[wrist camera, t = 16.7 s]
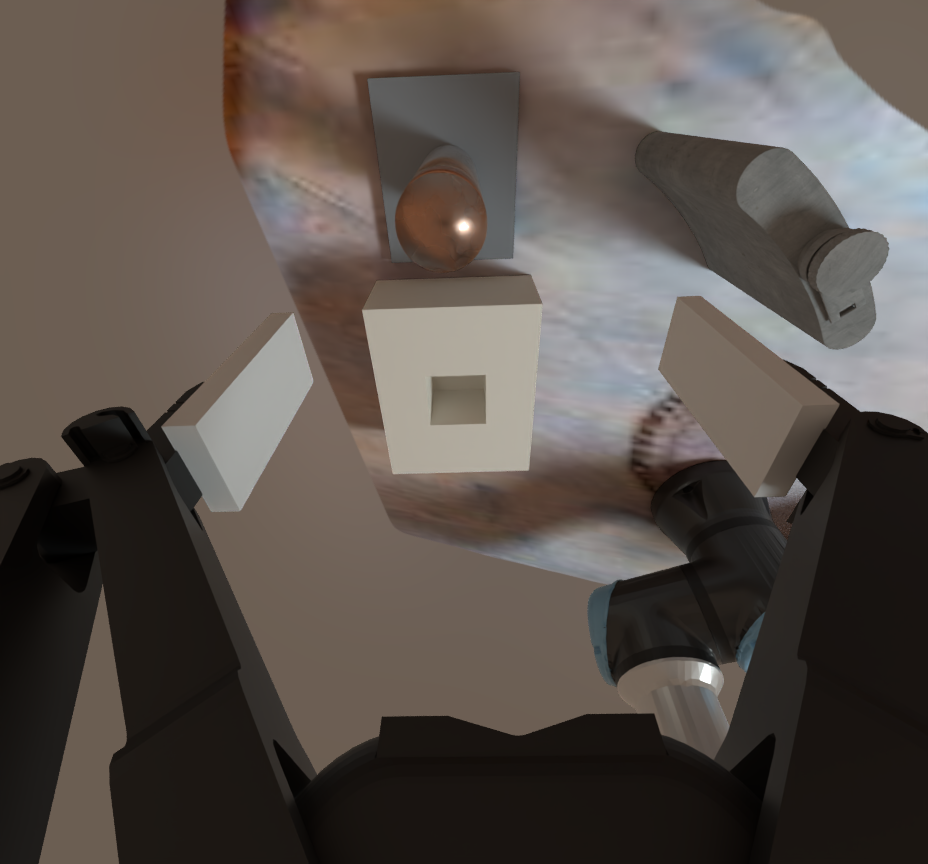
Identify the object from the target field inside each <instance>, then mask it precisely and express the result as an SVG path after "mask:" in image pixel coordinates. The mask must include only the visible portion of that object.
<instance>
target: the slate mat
mask: <svg viewBox="0 0 928 864" xmlns="http://www.w3.org/2000/svg"><path fill="white" fill-rule="evenodd" d="M367 80H368V88H369V95H370V103H371V110H372V118H373V125H374V133H375V140H376V148H377V155H378V163H379V170H380V178H381V185H382V193H383V200H384V208H385V215H386V223H387V230H388V238H389V245H390V252H391V260H392V263H398V262H413V261H412V260H411V259H410V258H409V257H408V256H407V254H406V253H405V252H404V250H403V248H402V247H401V245H400V242H399V240H398V237H397V234H396V229H395V213H396V207H397V204H398V201H399V199H400V197H401V195H402V193H403V192H404V190H405V188H406V187H407V185H408V184H409V182H410V181H411V180H412V178H413V177H414V175H415V174H416V172H417V171H418V169H419V167H420V166H421V164H422V163H423V161H424V160H425V158H426V157H427V155H428V154H429V153H430V152H431V151H432V150H434V149H435V148H437V147H439V146H442V145H454V146H457V147H459V148H461V149H463V150H464V151H465V152H466V153H467V154H468V155H469V156H470V157H471V159H472V161H473V163H474V165H475V168H476V172H477V177H478V181H479V185H480V189H481V194H482V198H483V201H484V205H485V209H486V214H487V233H486V238H485V241H484V244H483V246H482V248H481V250H480V252H479V253H478V255H477V256H476V257H475V258H474V259H473V260H482V259H510V258H513V250H514V222H515V195H516V167H517V139H518V111H519V83H520V72H505V73H482V74H459V75H437V76H414V77H392V78H369V79H367Z"/></svg>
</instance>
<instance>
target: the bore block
mask: <svg viewBox="0 0 928 864" xmlns="http://www.w3.org/2000/svg"><path fill="white" fill-rule="evenodd" d="M542 305H543V304H542V301H541V299H540V296H539V294H538V291H537V289H536V286H535V284H534V281H533V279H532V276H531V275H520V276H491V277H463V278H434V279H406V280H377V281H376V283H375V285H374V287H373V289H372V291H371V293H370V295H369V297H368V299H367V301H366V303H365V305H364V307H363V309H362V312H363V318H364V323H365V328H366V334H367V339H368V344H369V350H370V355H371V360H372V366H373V371H374V376H375V382H376V387H377V392H378V397H379V403H380V408H381V413H382V419H383V424H384V429H385V435H386V440H387V445H388V451H389V456H390V461H391V467H392V472H393V474H416V473H454V472H492V471H529V463H530V451H531V439H532V427H533V414H534V402H535V390H536V378H537V366H538V353H539V341H540V329H541V317H542Z"/></svg>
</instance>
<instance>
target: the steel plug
mask: <svg viewBox="0 0 928 864" xmlns="http://www.w3.org/2000/svg"><path fill="white" fill-rule="evenodd" d="M395 229H396V234H397V237H398V240H399V242H400V245H401V247H402V248H403V250H404V252H405V253H406V254H407V256H408V257H409V258H410V259H411V260H412V261H413V262H415V263H416V264H417V265H419V266H421V267H422V268H424V269H427V270H430V271H433V272H441V273H445V272H452V271H456V270H458V269H461V268H463V267H464V266H466V265H467V264H469V263H470V262H471V261H472V260H473V259H474V258H475V257H476V256H477V255H478V253H479V252H480V250H481V248H482V246H483V244H484V241H485V238H486V233H487V214H486V209H485V205H484V201H483V198H482V194H481V189H480V185H479V181H478V177H477V172H476V168H475V165H474V163H473V161H472V159H471V157H470V156H469V155H468V154H467V153H466V152H465V151H464V150H463V149H461V148H459V147H457V146H454V145H442V146H439V147H437V148H435V149H434V150H432V151H431V152H430V153H429V154H428V155H427V157H426V158H425V160H424V161H423V163H422V164H421V166H420V167H419V169H418V171H417V172H416V174H415V175H414V177H413V178H412V180H411V181H410V182H409V184H408V185H407V187H406V188H405V190H404V192H403V193H402V195H401V197H400V199H399V201H398V204H397V207H396V213H395Z"/></svg>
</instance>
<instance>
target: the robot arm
mask: <svg viewBox="0 0 928 864" xmlns="http://www.w3.org/2000/svg"><path fill="white" fill-rule="evenodd" d="M658 370H659V371H660V372H661V374H662V375H663V376H664V378H665V379H666V380H667V382H668V383H669V384H670V386H671V387H672V388H673V390H674V391H675V392H676V394H677V395H678V396H679V398H680V399H681V400H682V402H683V403H684V404H685V406H686V407H687V408H688V410H689V411H690V412H691V414H692V415H693V416H694V418H695V419H696V420H697V422H698V423H699V424H700V426H701V427H702V428H703V430H704V431H705V432H706V433H707V435H708V436H709V437H710V439H711V440H712V441H713V443H714V444H715V445H716V447H717V448H718V449H719V451H720V452H721V453H722V455H723V456H724V457H725V459H726V460H727V461H714V462H707V463H702V464H698V465H695V466H692V467H690V468H687V469H685V470H683V471H681V472H679V473H677V474H676V475H674V476H672V477H671V478H670V479H668V480H667V481H666V482H665V483H664V484H663V485H662V486H661V487H660V488H659V489H658V491H657V492H656V494H655V495H654V497H653V500H652V504H651V511H652V515H653V517H654V519H655V521H656V523H657V525H658V527H659V528H660V530H661V531H662V532H663V533H664V534H665V535H667V536H668V537H669V538H670V539H671V541H672V542H673V543H674V544H675V545H676V546H677V547H678V548H679V549H680V550H681V551H682V552H683V553H684V554H685V555H686V557H687V559H688V561H689V562H690V563H687V564H684V565H680V566H676V567H672V568H669V569H665V570H661V571H657V572H654V573H650V574H646V575H642V576H639V577H635V578H631V579H627V580H624V581H623V580H616V581H615V582H613V583H612V584H609V585H606V586H603V587H599V588H597V589H596V590H594V592H593V593H592V594H591V595H590V598H589V601H588V624H589V631H590V638H591V643H592V645H593V647H594V654H595V658H596V662H597V665H598V668H599V671H600V673H601V675H602V677H603V679H604V680H605V682H606V683H607V684H609V685H612V686H615V687H617V690H618V693H619V696H620V697H621V699H622V700H623V701H625V702H626V703H627V704H629V705H630V706H632V707H633V708H634V709H636V710H637V713H638V714H586V715H583V716H580V717H577V718H574V719H571V720H568V721H565V722H562V723H559V724H556V725H553V726H550V727H547V728H544V729H541V730H538V731H535V732H532V733H529V734H526V735H522V736H515V735H510V734H507V733H503V732H500V731H497V730H493V729H490V728H487V727H483V726H480V725H476V724H473V723H470V722H467V721H463V720H460V719H456V718H453V717H450V716H405V717H404V716H401V717H382V720H381V727H380V734H379V737H376V738H373V739H370V740H368V741H366V742H364V743H362V744H360V745H358V746H356V747H353V748H352V749H350V750H349V751H347V752H346V753H344V754H342V755H341V756H339V757H338V758H336V759H335V760H334V761H333V762H332V763H330V764H329V765H328V766H327V767H325V768H324V769H323V770H322V771H321V772H320V773H319V774H318V775H317V774H316V772H315V770H314V768H313V766H312V764H311V762H310V760H309V758H308V757H307V755H306V753H305V751H304V749H303V748H302V746H301V744H300V742H299V740H298V739H297V736H296V734H295V732H294V730H293V728H292V725H291V723H290V721H289V719H288V716H287V714H286V712H285V710H284V707H283V705H282V703H281V700H280V698H279V696H278V694H277V691H276V689H275V687H274V684H273V682H272V680H271V678H270V675H269V673H268V671H267V669H266V666H265V664H264V662H263V660H262V657H261V655H260V653H259V651H258V648H257V646H256V644H255V641H254V639H253V637H252V635H251V632H250V630H249V628H248V626H247V623H246V621H245V619H244V616H243V614H242V612H241V610H240V607H239V605H238V603H237V601H236V598H235V596H234V594H233V591H232V589H231V587H230V585H229V582H228V580H227V578H226V576H225V573H224V571H223V569H222V567H221V564H220V562H219V560H218V557H217V556H216V553H215V551H214V548H213V546H212V544H211V542H210V539H209V537H208V535H207V533H206V530H205V528H204V526H203V524H202V521H201V519H200V517H199V515H198V513H197V512H196V510H195V509H194V506H195V505H196V503H197V502H198V501H199V499H200V498H201V496H202V497H203V499H204V500H205V502H206V503H207V505H208V507H209V509H210V510H211V512H223V511H224V512H226V511H241V509H242V507H243V505H244V504H245V502H246V500H247V498H248V497H249V495H250V493H251V491H252V490H253V488H254V486H255V484H256V483H257V481H258V479H259V477H260V476H261V474H262V472H263V470H264V468H265V467H266V465H267V463H268V461H269V459H270V458H271V456H272V454H273V453H274V451H275V449H276V447H277V446H278V444H279V442H280V440H281V438H282V437H283V435H284V433H285V431H286V430H287V428H288V426H289V424H290V423H291V421H292V419H293V417H294V416H295V414H296V412H297V410H298V409H299V407H300V405H301V403H302V401H303V400H304V398H305V396H306V394H307V393H308V391H309V389H310V387H311V386H312V384H313V382H314V381H313V377H312V374H311V371H310V368H309V364H308V360H307V357H306V354H305V350H304V347H303V344H302V340H301V337H300V334H299V330H298V327H297V323H296V320H295V316H294V313H272V314H270V315H269V317H267V319H265V321H264V322H263V323H262V324H261V325H260V326H259V327H258V328H257V329H256V330H255V331H254V332H253V333H252V334H251V335H250V336H249V337H248V338H247V339H246V340H245V341H244V342H243V343H242V344H241V345H240V346H239V347H238V349H236V350H235V351H234V353H232V354H231V355H230V356H229V358H228V359H227V360H226V361H225V362H224V363H223V364H222V365H221V366H220V367H219V368H218V369H217V370H216V371H215V372H214V373H213V374H212V375H211V376H210V377H209V378H208V379H207V380H206V381H205V382H202V383H200V384H198V385H196V386H195V387H193V388H191V389H190V390H188V391H186V392H185V393H184V394H183V395H182V396H181V397H180V398H179V399H178V400H177V401H176V404H173V405H172V406H171V407H170V408H169V409H168V410H167V411H168V412H167V413H164V414H163V415H162V416H161V417H160V418H159V419H158V420H157V421H156V422H155V423H154V424H153V425H152V426H151V427H150V428H149V429H148V430H147V431H146V430H145V428H144V427H143V425H142V423H141V422H140V420H139V419H138V417H137V415H136V414H135V412H134V411H133V410H132V409H131V408H127V407H112V408H107V409H103V410H98V411H95V412H93V413H90V414H88V415H86V416H83V417H81V418H79V419H77V420H76V421H74V422H72V423H71V424H70V425H69V426H68V427H66V428H65V429H64V431H63V433H62V438H63V439H64V441H65V442H66V443H67V445H68V446H69V447H70V448H71V450H72V451H73V452H74V454H75V455H76V456H77V457H78V459H79V460H80V461H81V462H82V464H83V465H84V467H82V468H77V469H73V470H68V471H64V472H59V473H56V472H55V471H54V470H53V469H52V468H51V466H50V465H49V464H48V463H47V462H46V461H45V460H43V459H41V458H28V459H23V460H18V461H15V462H12V463H6V464H3V465H1V466H0V864H38V863H39V859H40V855H41V850H42V846H43V842H44V837H45V833H46V828H47V824H48V820H49V815H50V811H51V807H52V802H53V798H54V794H55V789H56V785H57V780H58V776H59V772H60V767H61V763H62V759H63V754H64V750H65V745H66V741H67V737H68V732H69V728H70V723H71V719H72V715H73V711H74V706H75V702H76V698H77V693H78V689H79V684H80V680H81V675H82V671H83V667H84V663H85V658H86V654H87V650H88V645H89V641H90V636H91V632H92V628H93V623H94V619H95V615H96V610H97V606H98V601H99V597H100V593H101V588H102V584H103V587H104V593H105V599H106V605H107V611H108V618H109V624H110V630H111V637H112V643H113V649H114V656H115V662H116V668H117V675H118V681H119V687H120V694H121V700H122V706H123V712H124V719H125V725H126V731H127V742H126V745H125V747H123V748H122V749H120V750H119V751H117V752H116V753H115V754H113V757H112V760H111V763H110V766H109V772H110V791H111V799H112V808H113V816H114V825H115V832H116V841H117V850H118V857H119V864H928V433H927V432H926V431H924V430H923V429H922V428H921V427H920V426H918V425H916V424H914V423H912V422H910V421H908V420H906V419H903V418H900V417H897V416H894V415H891V414H885V413H880V412H866V411H864V412H860V411H859V410H857V409H856V408H855V407H853V406H852V405H851V404H849V403H848V402H847V401H845V400H844V399H843V398H841V397H840V396H839V395H837V394H836V393H835V392H834V391H832V390H831V389H827V386H826V385H824V384H823V383H822V382H820V381H819V380H816V378H815V377H814V376H812V375H811V374H810V373H808V372H807V371H806V370H804V369H803V368H801V367H799V366H797V365H794V364H792V363H790V362H788V361H785V360H782V359H781V358H780V357H778V356H777V355H776V354H774V353H773V352H772V351H771V350H769V349H768V348H767V347H765V346H764V345H763V344H762V343H760V342H759V341H758V340H756V339H755V338H754V337H753V336H751V335H750V334H749V333H747V332H746V331H745V330H744V329H742V328H741V327H740V326H738V325H737V324H736V323H735V322H733V321H732V320H731V319H729V318H728V317H727V316H726V315H724V314H723V313H722V312H721V311H719V310H718V309H717V308H715V307H714V306H713V305H712V304H710V303H709V302H708V301H706V300H705V299H704V298H703V297H701V296H687V297H677V300H676V304H675V308H674V312H673V316H672V319H671V323H670V327H669V331H668V335H667V338H666V342H665V346H664V350H663V353H662V357H661V361H660V365H659V369H658ZM796 478H797V479H798V480H799V481H800V482H801V483H802V484H803V485H804V486H805V487H806V489H807V490H806V491H805V493H804V495H803V496H802V498H801V499H800V501H799V503H798V504H797V506H796V507H795V509H794V511H793V512H792V514H791V515H790V517H789V519H788V520H787V522H789V523H791V524H792V523H793V524H792V527H791V531H790V534H789V537H788V540H786V538H785V537H784V536H783V534H782V533H781V532H780V530H779V529H778V528H777V526H776V525H775V524H774V522H773V519H772V516H771V512H770V508H769V505H768V501H767V497H784V496H786V495H787V493H788V492H789V490H790V488H791V486H792V485H793V483H794V481H795V480H796ZM731 662H737V663H738V665H739V667H740V668H742V669H743V670H744V671H745V672H746V676H745V679H744V682H743V686H742V689H741V692H740V695H739V698H738V702H737V705H736V708H735V711H734V714H733V718H732V721H731V724H730V727H729V724H728V722H727V720H726V717H725V715H724V713H723V710H722V708H721V706H720V703H719V701H718V699H717V696H718V694H719V692H720V690H721V688H722V686H723V684H724V678H723V675H722V672H721V670H720V668H719V666H718V665H721V664H726V663H731Z"/></svg>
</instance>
